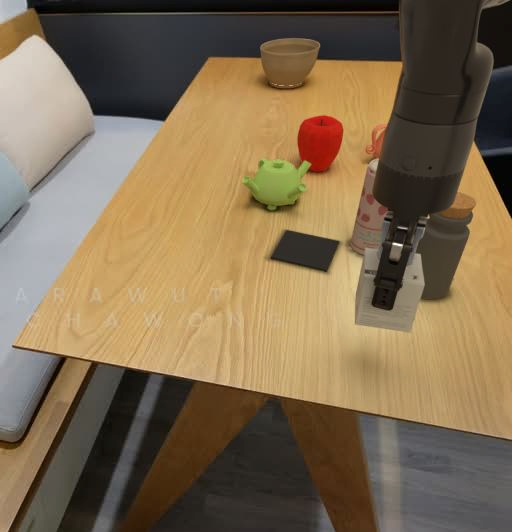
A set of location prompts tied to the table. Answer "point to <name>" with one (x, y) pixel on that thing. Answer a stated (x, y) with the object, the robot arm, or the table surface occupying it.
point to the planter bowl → (288, 60)
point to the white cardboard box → (404, 302)
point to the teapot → (277, 182)
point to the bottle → (444, 245)
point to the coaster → (305, 250)
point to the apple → (319, 141)
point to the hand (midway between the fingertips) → (387, 288)
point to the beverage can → (368, 215)
